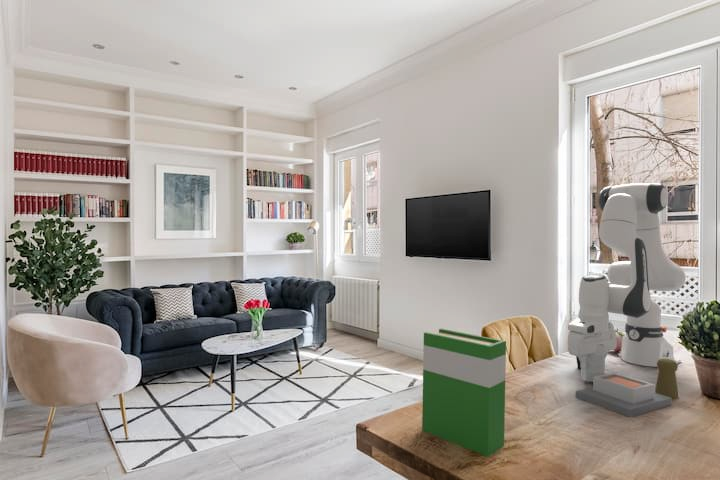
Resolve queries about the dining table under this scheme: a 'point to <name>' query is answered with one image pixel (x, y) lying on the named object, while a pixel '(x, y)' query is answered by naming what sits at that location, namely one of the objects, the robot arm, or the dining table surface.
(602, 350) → the skincare box
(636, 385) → the button
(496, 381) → the hardback book
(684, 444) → the dining table surface
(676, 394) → the cork
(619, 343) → the decorative fruit
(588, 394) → the switch box
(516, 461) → the dining table surface
